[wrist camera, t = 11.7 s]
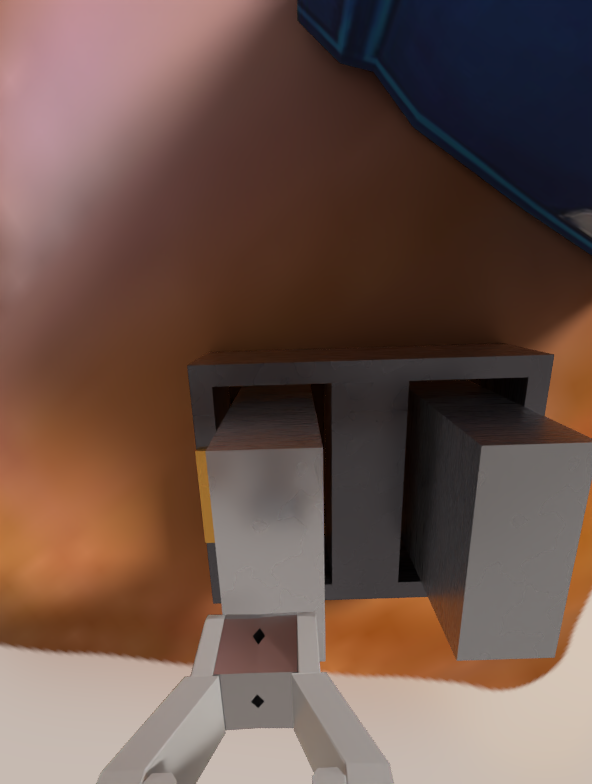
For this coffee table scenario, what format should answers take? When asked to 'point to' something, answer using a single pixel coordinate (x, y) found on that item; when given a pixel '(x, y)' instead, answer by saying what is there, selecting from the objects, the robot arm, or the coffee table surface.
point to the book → (485, 88)
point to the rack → (432, 482)
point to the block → (269, 504)
